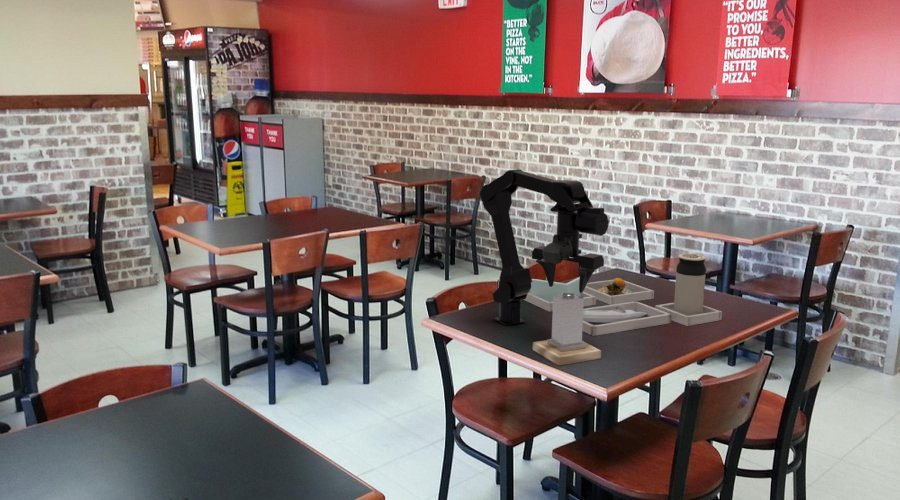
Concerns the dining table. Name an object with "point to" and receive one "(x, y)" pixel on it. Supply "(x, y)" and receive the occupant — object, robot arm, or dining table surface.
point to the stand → (566, 353)
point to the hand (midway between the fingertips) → (565, 289)
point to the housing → (567, 322)
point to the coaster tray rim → (548, 305)
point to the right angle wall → (553, 288)
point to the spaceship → (610, 315)
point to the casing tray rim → (655, 319)
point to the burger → (615, 288)
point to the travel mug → (690, 284)
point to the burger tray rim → (638, 295)
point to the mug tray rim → (705, 317)
